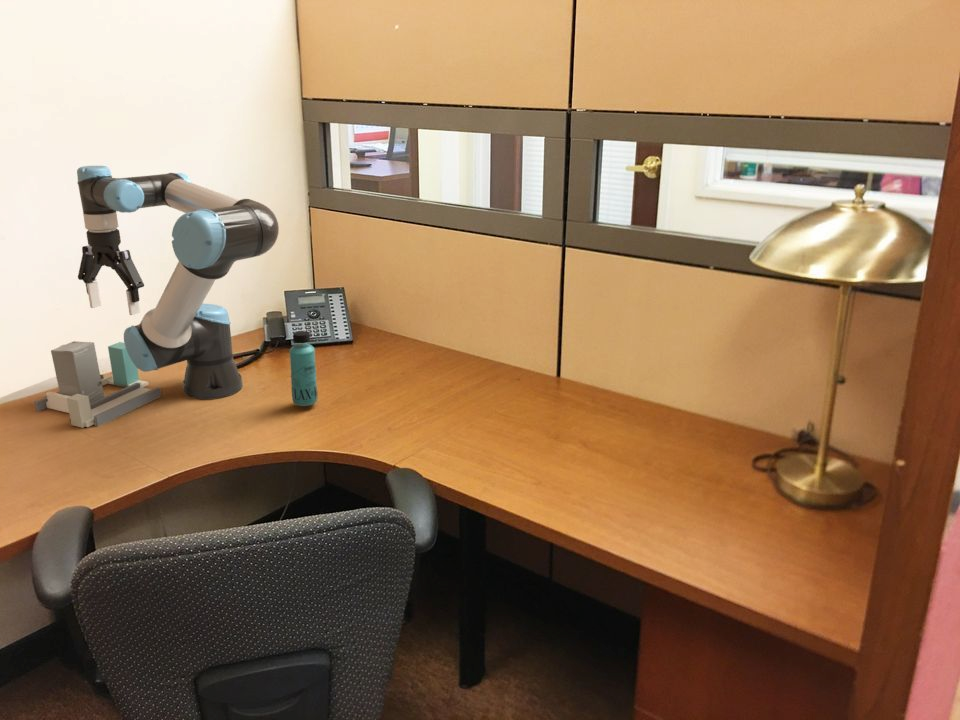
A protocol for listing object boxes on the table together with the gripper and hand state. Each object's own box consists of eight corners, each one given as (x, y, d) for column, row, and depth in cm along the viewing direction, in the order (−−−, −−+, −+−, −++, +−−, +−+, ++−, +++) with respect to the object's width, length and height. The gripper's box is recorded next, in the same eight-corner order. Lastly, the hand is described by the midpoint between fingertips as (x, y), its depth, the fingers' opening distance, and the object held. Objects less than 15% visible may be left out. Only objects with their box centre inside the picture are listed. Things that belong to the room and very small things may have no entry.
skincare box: (84, 412, 189) (74, 352, 183) (59, 409, 190) (48, 349, 184) (106, 398, 196) (97, 341, 191) (82, 396, 198) (72, 338, 192)
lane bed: (161, 396, 198) (160, 387, 198) (98, 426, 181) (96, 417, 180) (101, 383, 206) (100, 374, 205) (36, 410, 189) (34, 401, 188)
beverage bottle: (287, 408, 193) (281, 334, 186) (302, 399, 199) (297, 327, 191) (309, 413, 190) (304, 338, 183) (323, 403, 196) (319, 330, 189)
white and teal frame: (148, 384, 205) (142, 346, 201) (79, 415, 186) (71, 374, 182) (117, 377, 209) (111, 340, 205) (46, 407, 190) (38, 366, 186)
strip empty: (156, 394, 199) (152, 369, 196) (85, 428, 179) (80, 401, 177) (141, 391, 201) (137, 366, 198) (69, 424, 181) (64, 397, 179)
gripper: (151, 231, 189) (162, 312, 197) (78, 222, 198) (91, 300, 205) (128, 237, 183) (140, 320, 190) (53, 227, 191) (68, 307, 199)
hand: (115, 310), depth 198 cm, fingers open, 13 cm apart
